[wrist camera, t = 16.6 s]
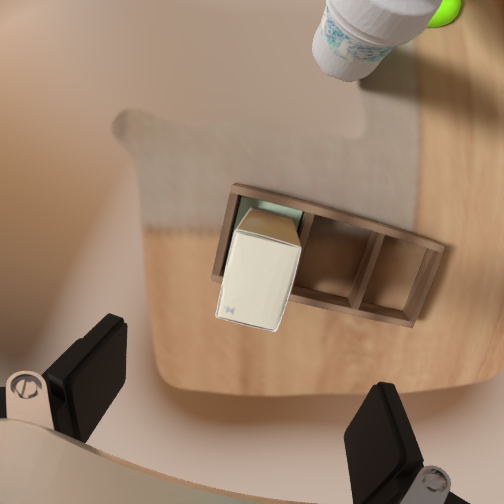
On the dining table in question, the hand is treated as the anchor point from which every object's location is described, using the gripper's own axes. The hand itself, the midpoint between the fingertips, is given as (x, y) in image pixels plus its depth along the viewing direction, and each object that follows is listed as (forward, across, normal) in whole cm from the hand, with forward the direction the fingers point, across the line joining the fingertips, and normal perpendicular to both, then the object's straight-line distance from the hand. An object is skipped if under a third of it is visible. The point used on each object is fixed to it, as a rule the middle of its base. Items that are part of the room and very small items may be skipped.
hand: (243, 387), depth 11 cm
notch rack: (+22, -6, 0) cm, 23 cm away
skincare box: (+22, 0, 0) cm, 22 cm away
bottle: (+22, -2, -20) cm, 30 cm away
